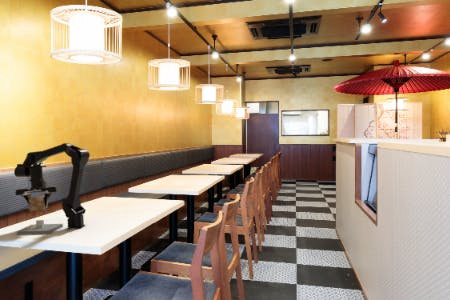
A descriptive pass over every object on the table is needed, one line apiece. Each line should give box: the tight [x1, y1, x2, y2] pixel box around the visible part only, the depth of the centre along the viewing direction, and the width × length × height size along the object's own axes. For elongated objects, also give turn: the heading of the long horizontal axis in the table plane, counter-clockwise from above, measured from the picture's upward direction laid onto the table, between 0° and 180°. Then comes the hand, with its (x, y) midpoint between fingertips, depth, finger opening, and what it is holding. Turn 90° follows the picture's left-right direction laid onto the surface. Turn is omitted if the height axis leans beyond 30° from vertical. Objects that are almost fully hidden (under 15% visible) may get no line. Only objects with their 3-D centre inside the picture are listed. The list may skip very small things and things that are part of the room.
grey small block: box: [35, 219, 45, 228], centre depth 166 cm, size 3×1×4 cm, turn 88°
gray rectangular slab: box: [16, 223, 64, 235], centre depth 166 cm, size 16×12×2 cm
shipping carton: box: [28, 195, 49, 212], centre depth 172 cm, size 6×6×6 cm
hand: (38, 207), depth 172 cm, fingers closed on shipping carton, 6 cm apart
